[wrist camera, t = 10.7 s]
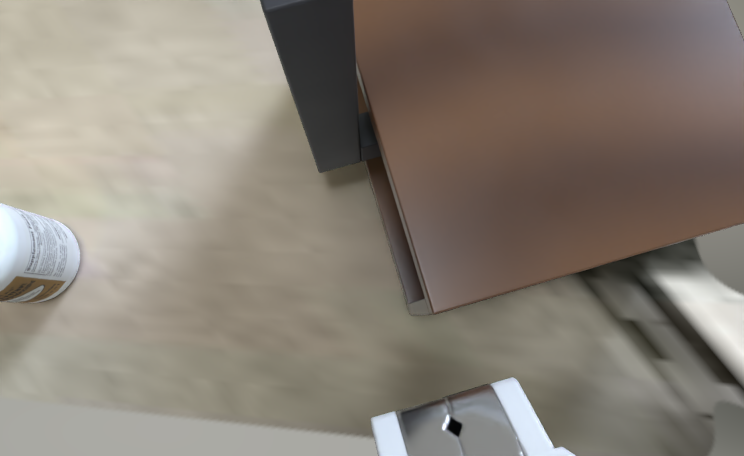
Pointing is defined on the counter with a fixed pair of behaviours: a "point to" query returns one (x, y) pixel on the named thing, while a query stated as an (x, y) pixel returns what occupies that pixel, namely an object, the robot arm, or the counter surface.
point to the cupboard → (546, 135)
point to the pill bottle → (34, 256)
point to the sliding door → (323, 77)
